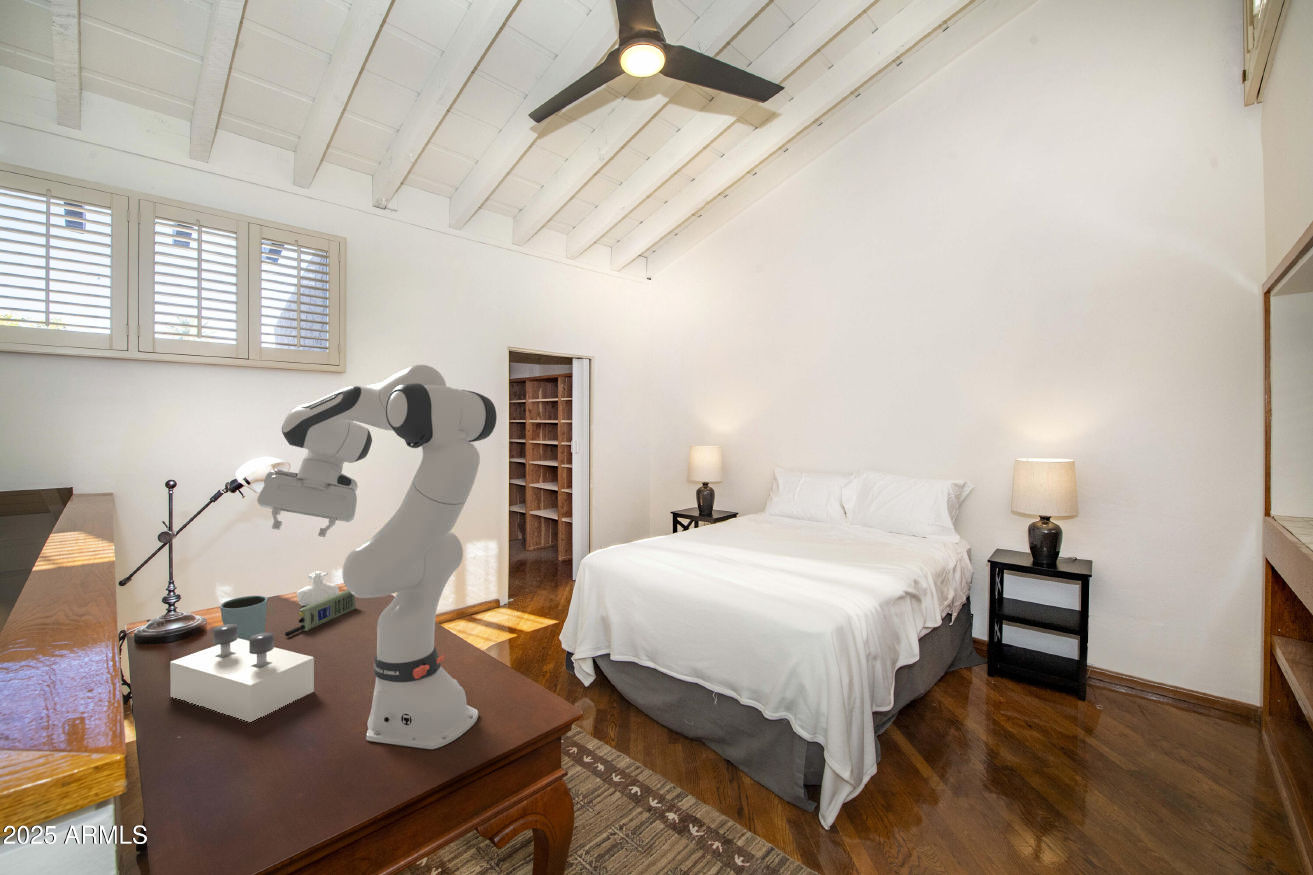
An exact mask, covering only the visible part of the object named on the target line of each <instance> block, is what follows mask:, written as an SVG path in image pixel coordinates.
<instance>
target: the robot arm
mask: <svg viewBox="0 0 1313 875" xmlns="http://www.w3.org/2000/svg"><path fill="white" fill-rule="evenodd" d="M497 416H498V415H497V410H496V407H495V404H494V402H493V401H492V400H491V399H490V398H489V397H487V396H485V395H484V394H481V393H479V392H476V391H471V390H466V389H459V388H453V387H451V386H447V382H446V380H445V378H444V376H443V375H442V374H441V373H440V372H439V371H438V370H437V369H436V368H434V367H432V366H430V365H427V364H415V365H412V366H409V367H407V368H406V367H405V368H404V369H401V370H400V371H397V372H396V373H394V374H392V375H391V376H390V377H388V378H386V379H385V380H383V381H380V382H378V383H372V384H367V385H360V386H359V385H354V386H347V387H344V388H342V389H339V390H337V391H335V392H332V393H330V394H328V395H326V396H324V397H322V398H319V399H317V400H316V401H315V400H314V401H313V402H311V403H304V404H300V405H298V406H296V407H294V408H292V410H291V411H290V412H288V414H287V415H286V417H285V419H284V421H283V423H282V425H281V433H282V435H283V437H284V439H285V440H286V442H287V443H288V445H290V446H292V447H296V448H300V449H305V450H307V454H306V455H305V457H304V458H303V459H302V461H301V464H300V466H299V469H298V471H297V472H293V471H285V470H283V469H275V470H270V471H268V472H267V473H266V475H265V477H264V480H263V484H264V485H263V486H262V488H261V490H260V492H259V494H258V496H257V500H256V501H257V503H258V505H259V507H261V508H264V509H269V510H271V514H272V518H273V523H272V525H271V529H273V530H278V531H280V530H281V526H283V522H282V521H281V520H278V516H279V515H281V512H287V513H293V514H297V515H298V514H299V515H303V516H304V515H305V516H310V517H315V518H321V519H328V524H327V525H326V526H325V527H320V529H319V531H318V533H317V534H318V535H317V536H318V537H321V538H326V537H327V534H328V533H327V532H328V531H329V530H330V529H332V528H333V527H334V526H335V525H336V521H339V522H344V523H350V522H352V521H353V520H354V518H355V515H356V509H357V500H358V497H357V490H358V487H359V486H358V483H357V480H355V479H354V478H351V477H350V476H348V475H346V474H344V473H342V472H343V468H344V466H343V465H344V463H349V464H351V463H352V464H353V463H356V462H359V461H361V460H363V459H365V458H366V457H367V455H368V454H369V452H370V449H371V447H372V443H373V437H372V435H371V431H370V430H369V428H368V427H366V426H364V425H367V426H371V427H373V428H374V427H375V428H378V429H380V430H385V431H393V432H394V433H395V434H396V436H398V437H399V438H400V439H402V440H403V441H404V442H405V444H406V446H407V447H409V448H411V449H418V448H421V449H422V459H421V462H420V464H419V466H418V468H417V470H416V472H415V474H414V476H413V478H412V480H411V483H410V484H409V487H408V490H407V491H406V493H405V495H404V498H403V499H402V502H401V504H400V506H399V507H398V508H397V510H396V512H394V514H393V516H391V518H390V519H389V520H388V521H387V522H386V524H384V525H383V527H382V528H380V529H379V531H378V532H376V533H375V534H374V535H373V536H372V537H371V538H370V539H369V540H367V541H366V542H364V543H363V544H362V545H360V546H359V547H357V548H356V549H354V550H352V551H351V552H349V554H348V555H347V556H346V558H345V560H344V562H343V566H342V572H341V573H342V574H341V576H342V580H343V584H344V586H345V587H346V590H349V591H350V592H351V593H352V594H353V595H354V596H355V598H359V599H366V598H368V599H369V598H379V597H386V596H390V595H393V594H395V596H394V598H393V599H392V601H391V603H389V605H387V606H386V608H384V609H383V611H382V612H381V614H380V615H379V617H378V620H377V623H376V634H377V635H376V654H375V655H374V663H373V668H374V670H373V671H374V676H375V683H374V684H375V685H374V688H373V689H374V690H373V694H372V703H371V709H370V713H369V717H368V720H367V721H366V722H367V724H366V726H367V731H366V736H365V740H366V741H369V742H375V743H382V744H389V745H396V746H404V747H412V748H417V749H425V750H426V749H427V750H434V749H435V750H436V749H438V748H441V747H443V746H446V745H448V744H449V743H451V742H453V741H455V740H456V739H458V738H459V737H461V736H462V735H463V734H465V733H466V732H467V731H468V730H469V729H471V727H472V726H474V725H475V724H476V722H477V720H478V718H479V711H478V709H476V708H474V707H472V706H470V705H468V704H467V696H466V695H467V694H466V692H465V689H464V688H463V687H462V686H461V685H460V684H459V681H458V680H457V679H454V678H453V677H452V676H451V675H450V674H449V673H448V672H447V671H446V670H445V669H444V668H443V667H442V663H441V662H443V661H445V658H444V657H445V654H442V655H441V656H439V654H438V651H437V647H436V645H435V633H436V632H435V630H436V629H435V627H436V616H437V611H438V606H439V602H440V600H441V597H442V594H443V592H444V589H445V587H446V585H447V583H448V581H449V580H450V578H451V577H452V575H453V574H454V573H455V572H456V570H457V569H458V568H459V567H460V566H461V564H462V561H463V556H464V549H463V546H462V542H461V540H460V539H459V537H458V536H457V535H456V534H455V533H453V532H452V530H453V529H454V527H455V526H456V523H457V521H458V519H459V517H460V515H461V513H462V511H463V509H464V506H465V504H466V502H467V500H468V498H469V496H470V494H471V491H472V489H473V486H474V483H475V480H476V478H477V474H478V472H479V471H478V470H479V466H480V462H481V457H480V452H479V451H478V449H477V448H476V446H475V445H474V444H473V443H475V442H480V441H483V440H485V439H488V438H489V437H490V436H491V435H492V433H493V432H494V430H495V429H496V428H495V427H496V424H497V418H498V417H497ZM360 423H361V424H360ZM362 424H364V425H362ZM277 515H278V516H277Z"/></svg>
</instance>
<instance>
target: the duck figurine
mask: <svg viewBox="0 0 1313 875" xmlns="http://www.w3.org/2000/svg"><path fill="white" fill-rule="evenodd" d="M328 574H329V573H328V572H323V571H319V570H317V571H313V572H312V573H310V574H308V575H306V577H307V578H308V579H309V582H312V583H311V585H307V586H305V587H303V588H301V589H299V590H298V591H297V592H296V599H297V601H298V603H299V605H300V606H304V607H306V606H309V605H311V604H314V603H316V602H319V601H321V600H323V599H326V598H328V597H331V596H333V595H336V594H338V593H340V590H339V589H340V588H339V586H338V585H337V584H333V583H324V582H323V580H325V577H327V576H328Z"/></svg>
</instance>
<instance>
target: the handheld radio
mask: <svg viewBox="0 0 1313 875" xmlns="http://www.w3.org/2000/svg"><path fill="white" fill-rule="evenodd" d="M356 607H357V606H356V596H354V595H353V594H352V593H351V592H350V591H349V590H348V589H346V590H344V591H341V592H338V594H336V595H333V596H331V597H328V598H326V599H323V600H321V601H319V602H316V603H314V604H311V605H309V606H304V607H301V608H300V609H298V611H300V612H299V614H298V615H299V617H300V619H298V624H299V623H300V625H299V626H298V627H295V628H293V629H290V630H288V631H286V632H285V633H284V635H285V637H290V636H292V635H294V634H296V633H299V632H300V631H302V632H303V631H304V632H306V631H307V632H308V631H310V630H312V629H313V628H316V627H318V626H321V625H323V624H325V623H326V622H329V621H330V620H331V621H332V620H333V619H335V618H338V617H341V616H342V615H345V614H346V613H349V612H351V611H353V610H356Z"/></svg>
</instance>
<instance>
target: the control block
mask: <svg viewBox="0 0 1313 875" xmlns="http://www.w3.org/2000/svg"><path fill="white" fill-rule="evenodd" d="M169 662H170V663H169V664H170V666H169V667H170V668H169V669H170V670H169V672H170V673H169V674H170V680H169V681H170V686H169V687H170V698H172V697H173V698H172V699H175V698H177V699H176V700H178V699H181V700H185V701H187V702H189V703H188V704H191V703H193V704H192V705H194V704H196V705H195V706H197V705H199V706H198V707H200V706H204V707H206V708H209V709H212V710H215V711H217V712H216V713H218V712H220V713H219V714H221V713H224V714H226V715H225V716H227V715H230V716H233V717H236V718H239V719H238V720H240V719H242V720H241V721H243V720H245V721H244V722H246V721H248V722H247V723H249V722H252V721H254V720H256V719H258V718H260V717H262V718H263V716H264V717H266V716H267V714H268V715H270V714H272V713H274V712H275V710H276V711H277V710H280V709H281V707H282V708H284V707H285V705H286V706H287V704H288V705H289V703H290V704H291V703H293V701H294V702H296V701H297V699H298V700H300V699H301V698H304V697H305V696H307V695H310V694H312V693H313V692H315V657H313V656H312V655H311V656H310V655H306V654H302V653H297V652H294V651H290V650H286V649H282V648H278V647H275V646H274V648H273V650H271V651H269V652H267V666H264V667H262V668H260V669H259V668H257V654H250V653H249V641H247V640H243V639H239V638H238V639H237V640H236V641H234V642H231V656H228V657H226V658H221V645H216V644H215V645H214V646H211V647H209V648H206V649H205V648H204V649H203V650H199V651H197V652H194V653H191V654H188V655H185V656H183V657H180V658H177V659H175V660H172V661H169ZM181 700H180V701H181ZM295 700H296V701H295ZM187 702H186V703H187ZM283 706H284V707H283ZM206 708H205V709H206ZM279 708H280V709H279ZM209 709H208V710H209ZM212 710H211V711H212ZM215 711H214V712H215ZM273 711H274V712H273ZM271 712H272V713H271ZM269 713H270V714H269ZM224 714H223V715H224ZM265 715H266V716H265ZM230 716H229V717H230ZM233 717H232V718H233ZM236 718H235V719H236ZM260 719H261V718H260ZM258 720H259V719H258ZM256 721H257V720H256ZM254 722H255V721H254ZM252 723H253V722H252Z"/></svg>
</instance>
